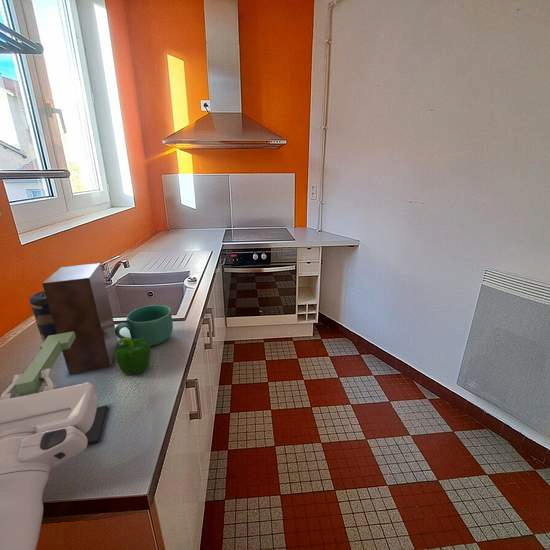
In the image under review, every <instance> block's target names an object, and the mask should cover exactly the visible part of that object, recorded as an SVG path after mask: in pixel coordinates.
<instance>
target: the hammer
mask: <svg viewBox="0 0 550 550" xmlns="http://www.w3.org/2000/svg"><path fill="white" fill-rule="evenodd" d="M75 338H76V336H75V333H74V332H68V333H62V334H56V335H50V336H48V337H47V338H46V340H45V341H44V342H43V341H42V344H41V345H40V347H39V349H40V350H39V351H38V352H37V354H36V356H35V357H34V358H33V360H32V361H31V362H30V364H29V365H28V366H27V368H26V369H25V370H24V372H23V373H24V374H23V373H22V374H23V375H22V376H21V378H20V379H19V381H18V382H17V383H16V388H17V391H18V393H17V394H18V397H19V396H24V395H29V394H34V393H39V392H38V391H39V390H40V389H41V387H42V385H43V384H44V383H43V382H42V380H40V379H39V375H40V371H41V370H44V369H49V368H51V369H52V368H53V367H54V365H55V364H56V362H57V360H58V359H59V357H60V355H61V353H63V352H62V350H65V349H70V347H71V345H72V343H73V342H74V340H75Z"/></svg>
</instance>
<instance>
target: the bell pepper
mask: <svg viewBox="0 0 550 550" xmlns="http://www.w3.org/2000/svg"><path fill="white" fill-rule="evenodd" d="M128 338H129V337H128ZM128 338H122V339H120V338H119V339H118V343H120V344H117V346H116V348H115V353H114V359H115V362H116V364H117V366H118V368H119V369H120V370H121V372H122V373H124V374H125V375H132V374H136V375H137V374H141V373H143V372H145V371H146V370H147V369H148V367H149V365H150V358H151V346H149V344H148V343H147V342H146V341H145V340H144V339H143V338H142V337H140V338H137V339H128Z"/></svg>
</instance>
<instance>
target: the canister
mask: <svg viewBox="0 0 550 550" xmlns="http://www.w3.org/2000/svg"><path fill="white" fill-rule="evenodd" d="M29 304H30V307H31V310H32V313H33V315H34V319H35V322H36V326H37V329H38V332H39V334H40V337H41V341H42V343H43V342H44V341H45V340H46V338H47V337H48V336H50V335H56V334H57V332H56V328H55V325H54V322H53V318H52V315H51V312H50V308H49V305H48V302H47V298H46V295H45V292H44V290H41V291H38V292H36V293H34V294H32V295H31V296H30V297H29Z"/></svg>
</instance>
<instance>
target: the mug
mask: <svg viewBox="0 0 550 550" xmlns="http://www.w3.org/2000/svg"><path fill="white" fill-rule="evenodd" d="M173 324H174V323H173V316H172V310H171V308H170V307H169V306H168V305H164V304H163V305H162V304H151V305H145V306H142V307H138V308H135V309H134V310H132V311H130V312H129V313H128V314H127V315H126V322H120V323H119V324H117V325H116V326H115V334H116V336H117V338H118V339H119V340H120V339H122V338H128V339H137V338H140V337H142V338H143V339H144V340H145V341H146V342H147V343H148V344H149V347H151V346H157V345H159V344H161V343H163V342H165V341H166V340H167V339H169V338H170V337H171V335H172V333H173V330H174V325H173ZM123 328H126V329H127V330H128V331H129V335H130V337H128V336H124V335H122V334H121V333H120V331H121V330H122V329H123Z"/></svg>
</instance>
